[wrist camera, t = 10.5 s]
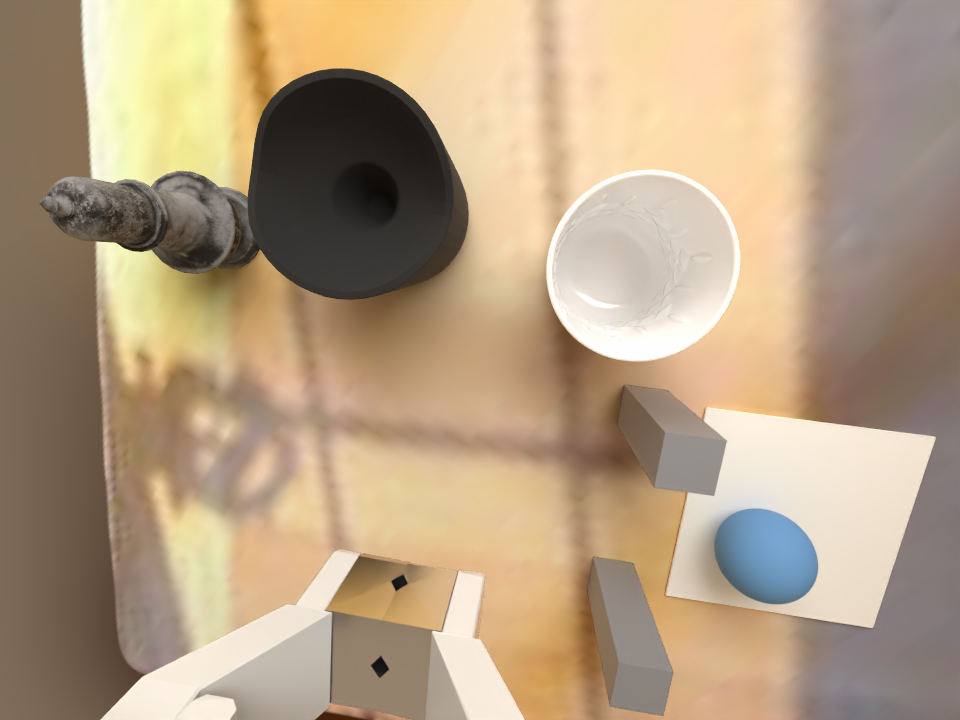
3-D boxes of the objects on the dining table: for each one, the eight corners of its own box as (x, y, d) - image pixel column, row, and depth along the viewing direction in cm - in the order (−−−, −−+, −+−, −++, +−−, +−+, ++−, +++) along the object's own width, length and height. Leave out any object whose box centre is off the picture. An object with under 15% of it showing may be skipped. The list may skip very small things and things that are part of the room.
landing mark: (932, 436, 29) (935, 437, 29) (870, 625, 32) (872, 628, 32) (705, 407, 30) (707, 408, 30) (665, 593, 33) (665, 595, 33)
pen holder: (303, 198, 30) (196, 164, 20) (417, 104, 28) (360, 16, 18) (389, 317, 31) (327, 339, 21) (504, 233, 29) (494, 215, 19)
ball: (706, 496, 29) (765, 487, 31) (686, 568, 31) (743, 555, 33) (790, 553, 24) (852, 538, 26) (761, 636, 26) (823, 615, 28)
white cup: (533, 327, 30) (538, 354, 20) (544, 201, 28) (555, 165, 19) (657, 335, 29) (723, 369, 20) (675, 207, 28) (757, 174, 18)
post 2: (633, 563, 32) (673, 672, 24) (626, 597, 33) (663, 716, 24) (593, 557, 33) (618, 662, 24) (587, 591, 33) (609, 706, 24)
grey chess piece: (199, 166, 30) (-9, 100, 18) (280, 206, 30) (123, 166, 18) (173, 249, 31) (-38, 237, 20) (250, 287, 31) (86, 299, 20)
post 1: (667, 390, 30) (727, 440, 21) (659, 430, 30) (714, 496, 22) (624, 384, 30) (665, 432, 21) (617, 425, 31) (654, 487, 22)
